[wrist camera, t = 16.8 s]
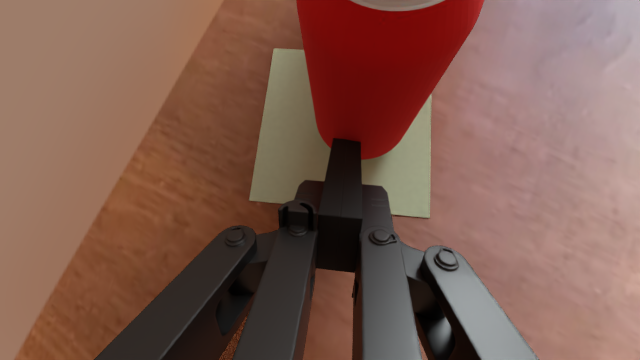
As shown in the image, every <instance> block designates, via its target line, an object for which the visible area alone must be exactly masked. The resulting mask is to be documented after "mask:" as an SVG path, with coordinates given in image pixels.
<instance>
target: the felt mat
mask: <svg viewBox="0 0 640 360" xmlns="http://www.w3.org/2000/svg"><path fill="white" fill-rule="evenodd" d="M330 151H331V148H330V147H328V145H327V144H326V143H325V142H324V140H323V139H322V137H321V135H320V133H319V131H318V128H317V124H316V118H315V112H314V106H313V100H312V94H311V88H310V82H309V76H308V70H307V64H306V58H305V52H304V50H295V49H275V48H274V51H273V57H272V63H271V69H270V75H269V81H268V88H267V94H266V100H265V106H264V112H263V118H262V124H261V130H260V136H259V143H258V149H257V155H256V161H255V167H254V173H253V179H252V185H251V191H250V198H249V201H259V202H269V203H279V204H284V203H286V202H288V201H292V200H294V198H295V195H296V192H297V189H298V186H299V185H300V184H301V183H302V182H303V181H304V180H314V181H325V176H326V171H327V166H328V161H329V156H330ZM430 155H431V94H430V96H429V97H428V99H427V100H426V102H425V104H424V105H423V107H422V108H421V110H420V111H419V113H418V114H417V116H416V118H415V119H414V121H413V122H412V124H411V125H410V127H409V128H408V130H407V132H406V133H405V135H404V136H403V138H402V139H401V141H400V142H399V143H398V144H397V145H396V146H395V147H394V148H393V149H392V150H390V151H389V152H387V153H386V154H384V155H382V156H379V157H376V158H372V159H366V160H361V168H362V184H367V185H378V186H382V187H383V188H384V189H385V190H386V191H387V193H388V198H389V204H390V210H391V214H392V215H403V216H413V217H423V218H430Z"/></svg>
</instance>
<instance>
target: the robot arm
mask: <svg viewBox="0 0 640 360" xmlns="http://www.w3.org/2000/svg"><path fill="white" fill-rule="evenodd" d="M278 215H279V229H278V230H276V231H273V232H269V233H263V234H256V233H255V232H254V231H253V229H251V228H249V227H247V226H241V225H239V226H232V227H230V228H227V229H225V230H224V231H222V232H221V233H219V234H218V235H217V236H216V237H215V238H214V239H213V240H212V241H211V242H210V243H209V245H208V246H207V247H206V248H205V249H204V250H203V251H202V252H201V253H200V254H199V255H198V256H197V257H196V258H195V259H194V260H193V261H192V262H191V263H190V264H189V265H188V266H187V267H186V268H185V269H184V270H183V271H182V272H181V273H180V274H179V275H178V276H177V277H176V278H175V279H174V280H173V281H172V282H171V283H170V284H169V285H168V286H167V287H166V288H165V289H164V290H163V291H162V292H161V293H160V294H159V295H158V296H157V297H156V298H155V299H154V300H153V301H152V302H151V303H150V304H149V305H148V306H147V307H146V308H145V309H144V310H143V311H142V312H141V313H140V314H139V315H138V316H137V317H136V318H135V319H134V320H133V321H132V322H131V323H130V324H129V325H128V326H127V327H126V328H125V329H124V330H123V331H122V332H121V333H120V334H119V335H118V336H117V337H116V338H115V339H114V340H113V341H112V342H111V343H110V344H109V345H108V346H107V347H106V348H105V349H104V350H103V351H102V352H101V353H100V354H99V355H98V356H97V357H96V358H95V359H94V360H219V358H220V356H221V355H222V353H223V352H224V350H225V349H226V347H227V345H228V344H229V342H230V341H231V339H232V337H233V336H234V334H235V333H236V331H237V330H238V328H239V326H240V325H241V323H242V322H243V320H244V319H245V317H246V315H247V314H248V312H249V314H248V317H247V320H246V322H245V325H244V328H243V331H242V334H241V336H240V339H239V342H238V345H237V347H236V350H235V353H234V356H233V359H232V360H303V354H304V348H305V341H306V335H307V328H308V322H309V315H310V309H311V303H312V296H313V290H314V283H315V270H316V268H319V269H328V270H336V271H345V272H353V273H355V280H354V286H353V293H352V298H353V349H352V360H422V356H421V351H420V345H419V340H418V336H419V339H420V341H421V344H422V346H423V348H424V351H425V353H426V356H427V358H428V360H539V359H538V357H537V356H536V355H535V353H534V352H533V351H532V349H531V348H530V346H529V345H528V344H527V342H526V341H525V340H524V338H523V337H522V336H521V334H520V333H519V331H518V330H517V329H516V327H515V326H514V325H513V323H512V322H511V321H510V319H509V318H508V316H507V315H506V314H505V312H504V311H503V310H502V308H501V307H500V306H499V304H498V303H497V301H496V300H495V299H494V297H493V296H492V295H491V293H490V292H489V291H488V289H487V288H486V287H485V285H484V284H483V282H482V281H481V280H480V278H479V277H478V276H477V274H476V273H475V272H474V270H473V269H472V267H471V266H470V265H469V263H468V262H467V261H466V259H465V258H464V257H463V256H462V255H461V254H460V253H458V252H456V251H455V250H453V249H451V248H448V247H445V246H432V247H429V248H428V249H427V250H426V251H425V252H423V251H420V250H417V249H414V248H412V247H410V246H407V245H406V244H404V243H403V242H401V241H400V239H399V237H398V235H397V234H396V233H395V232H394V228H393V222H392V216H391V210H390V204H389V198H388V193H387V191H386V190H385V189H384V188H383V187H382V186H378V185H367V184H362V168H361V142H359V141H352V140H347V139H339V138H333V141H332V146H331V151H330V156H329V161H328V166H327V171H326V176H325V181H314V180H304V181H303V182H302V183H301V184H300V185H299V186H298V189H297V192H296V195H295V198H294V200H292V201H288V202H286V203H284V204H283V205H281V206H280V208H279V209H278Z"/></svg>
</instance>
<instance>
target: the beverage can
mask: <svg viewBox="0 0 640 360" xmlns="http://www.w3.org/2000/svg"><path fill="white" fill-rule="evenodd" d="M483 2H484V0H297V9H298V16H299V22H300V28H301V34H302V40H303V46H304V52H305V58H306V64H307V70H308V76H309V82H310V88H311V94H312V100H313V106H314V112H315V118H316V124H317V128H318V131H319V133H320V135H321V137H322V139H323V140H324V142H325V143H326V144H327V145H328V147H330V148H331V146H332V141H333V138H339V139H347V140H352V141H359V142H361V160H366V159H372V158H376V157H379V156H382V155H384V154H386V153H387V152H389V151H390V150H392V149H393V148H394V147H395V146H396V145H397V144H398V143H399V142H400V141H401V139H402V138H403V136H404V135H405V133H406V132H407V130H408V128H409V127H410V125H411V124H412V122H413V121H414V119H415V118H416V116H417V114H418V113H419V111H420V110H421V108H422V107H423V105H424V104H425V102H426V100H427V99H428V97H429V96H430V94H431V93H432V91H433V90H434V88H435V86H436V85H437V83H438V82H439V80H440V79H441V77H442V76H443V74H444V72H445V71H446V69H447V68H448V66H449V65H450V63H451V61H452V60H453V58H454V57H455V55H456V54H457V52H458V51H459V49H460V47H461V46H462V44H463V43H464V41H465V40H466V38H467V37H468V35H469V33H470V32H471V30H472V29H473V27H474V25H475V23H476V21H477V19H478V17H479V14H480V11H481V8H482V5H483Z"/></svg>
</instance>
